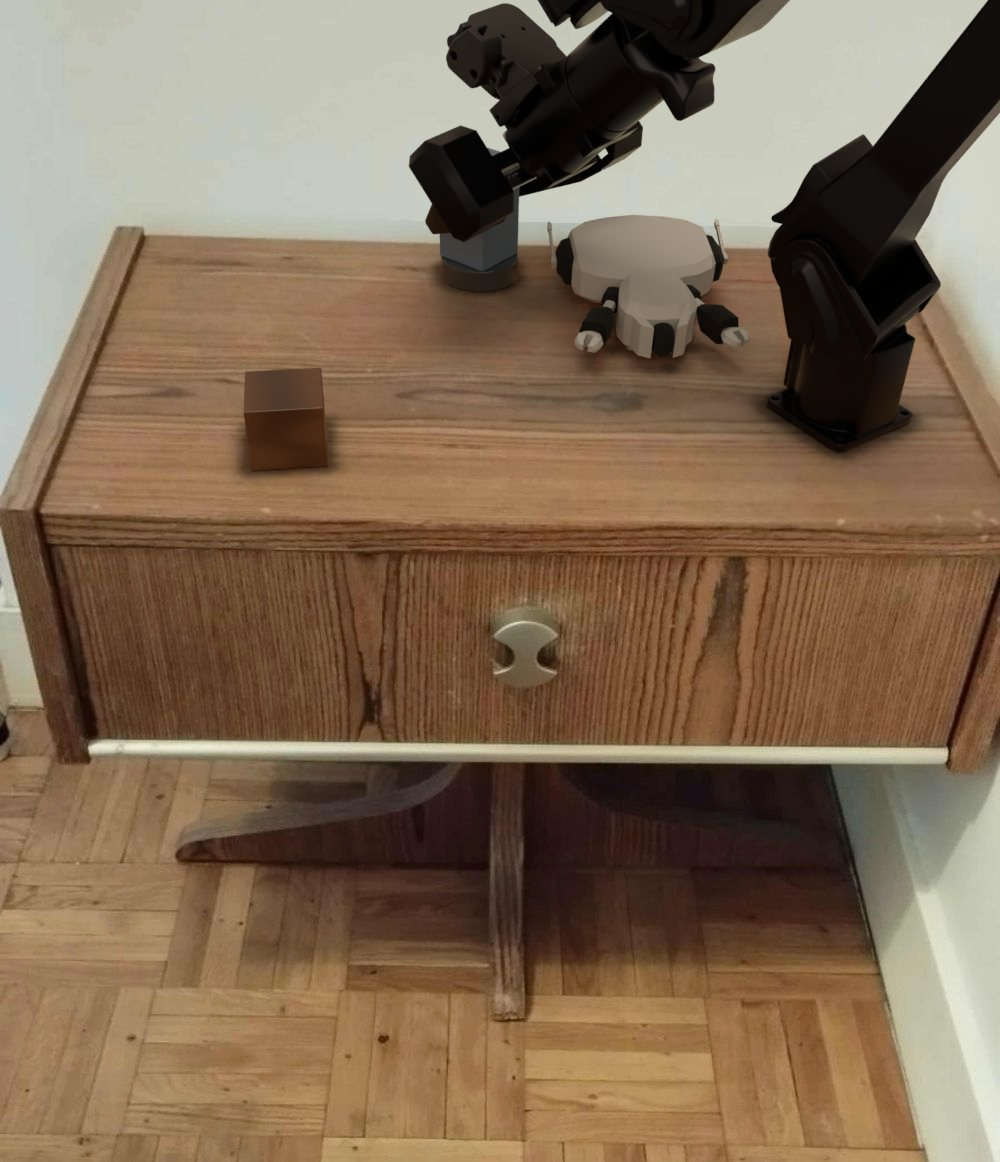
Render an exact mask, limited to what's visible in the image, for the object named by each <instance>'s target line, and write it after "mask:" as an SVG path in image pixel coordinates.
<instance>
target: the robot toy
mask: <svg viewBox="0 0 1000 1162" xmlns="http://www.w3.org/2000/svg"><path fill="white" fill-rule="evenodd" d="M552 225H553V224H552V222H550V221H548V222H547V226H546V230H547V233H548V240H549V248H550V269H555V270H556V274H557V275H558V276H559V278H560V279H561V281H562V282H563V283H564V285H565V286H568V287H571V288H572V290H573V293H574V295H576V296H578V297H581V298H582V299H585V300H586V301H589V302H591V303H596V304H600V306H596V307H590V308H589V311H588V312H587V314H586V316H585V317H584V319H583V320H582V323H581V325H580V328H579V333H578V334H577V335H576V337H575V339H574V346H575V348H576V349H577V350H580V351H584V349H585V347H586V348H587V351H586V352H588V353H595V354H596V353H597V352H598V351H600V350H601V349H602V348H604V347H605V346H606V344H607V342H608V341H609V339H610V337H611V336H612V334H613V330H614V328H615V334H616V337H617V338H618V340H619V341H620V342H621V343H622V344H623V346H624V347H626V350H628V351H632V352H634V353H635V354H636V355H637V356H639V357H643V358H647V359H651V357H652V354H653V355H654V356H656V357H662V358H665V357H668V356H671V354H672V359H673V358H677V357H679V356H682V355H684V354H685V350H686V347H687V345H688V344H689V343H691V342H692V340H693V336H694V330H695V324H696V320H697V323H698V327H699V331H700V332H701V333H702V334H703V335H705V336H706V337H707V338H708V339H709V340H710V341H711V342H712V343H714V345H723V346H724V347H726V348H729V349H731V350H735V349H740V348H741V346H743V347H745V346H748V345H749V343H750V341H751V336H750V334H749V333H748V331H747V330H746V329H745V328H743V327H740V324H739V323H740V322H739V317H738V316H737V315H736V314H735V313H733V312H732V311H731V310H730V309H728V308H727V307H726V306H725V305H724V304H718V303H717V304H714V303H705V302H703V301H702V296H704V295H705V294H707V293H709V291H710V290H711V287H712V284H713V283H714V282H717V281H719V280H720V278H721V275H722V272H723V269H724V265H728V261H729V256H728V252H725V246H724V241H723V237H722V233H721V227H720V225H721V224H720V220H719V219H718V218H714V222H713V227H714V230H715V231H716V236H717V241H716V239H715V238H714V237H713V236H712V235H710V234H706V231H705V229H704V226H701V225H699V224H697V223H695V222H691V221H689V220H687V219H683V218H677V217H670V216H660V215H644V214H627V215H618V216H617V215H616V216H607V217H601V218H597V219H596V218H595V219H591V220H587V221H584V222H582V223H580V224H578V225H577V226H576V227H573V228H572V229H570V232H569V233H568V235H567V237H566V238H563V239H561V240H560V241H559V243H558V246H557V247H556V250H555V247H554V240H553V226H552ZM717 242H718V243H717ZM615 315H616V317H615ZM696 318H697V319H696Z"/></svg>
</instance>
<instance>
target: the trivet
mask: <svg viewBox="0 0 1000 1162" xmlns="http://www.w3.org/2000/svg"><path fill="white" fill-rule="evenodd" d="M519 265H520V254H519V251H518V252H517V253H516V254H514V255H513V256H511V257H509V258H507V259H505V260H503V261H502V262H500V263H498V264H496V265H494V266H493V267H491V268H489V269H487V270H485V271H483V272H481V271H479V270H476V269H474V268H471V267H469V266H466V265H464V264H461V263H458V262H456V261H453V260H451V259H448V258H446V257H443V256H441V255H440V274H441V275H440V276H441V278H442V280H443V281H444V282H445V283H446V284H448V285H449V286H451V287H453V288H455V289H459V290H463V291H467V292H476V293H478V292H481V293H482V292H492V291H493V292H494V291H498V290H502V289H505V288H507V287H509V286H511V285H512V284H514V283H515V282H516V281H517V279H518V278H519V270H520V269H519V268H520V266H519Z"/></svg>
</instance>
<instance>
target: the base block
mask: <svg viewBox="0 0 1000 1162" xmlns="http://www.w3.org/2000/svg"><path fill="white" fill-rule="evenodd" d="M323 384H324V383H323V372H322V367H306V368H286V369H271V370H270V369H269V370H267V369H266V370H251V371H247V370H246V371H245V372H244V388H243V390H244V391H243V392H244V393H243V419H244V427H245V428H244V429H245V434H246V443H247V450H248V456H249V464H250V470H251V472H255V471H256V472H257V471H258V472H259V471H272V470H287V469H288V470H289V469H304V468H319V467H321V468H322V467H328V466H329V457H328V453H329V451H328V437H327V436H328V435H327V434H328V433H327V420H326V419H327V418H326V417H327V416H326V407H325V396H324V395H325V394H324V385H323Z"/></svg>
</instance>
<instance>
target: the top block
mask: <svg viewBox="0 0 1000 1162" xmlns="http://www.w3.org/2000/svg"><path fill="white" fill-rule="evenodd" d="M487 149H488V150H489V152H490V153H491V155H492V156H493V155H495V154H498V153H500V152H501V151H500V150H496V149H493V148H490V147H487ZM519 168H520V166H519V167H517V168H515V169H513V170H511V171H508V172H506V173H504V174H503V175H507V174H508V173H511V172H513V171H515V170H517V169H519ZM513 191H514V212H512V213H511V214H510V215H509V216H508V217H506V218H505V221H504V222H502V223H500V224H498V225H496V226H494V227H492V228H490V229H489V230H487V231H485V232H483V233H481V234H479V235H477V236H475V237H473V238H471V239H469V240H467V241H465V242H462V241H460V240H457V239H455V238H453V237H452V235H451V233H445V234H439V256H440V257H441V256H443V257H446V258H448V259H451V260H453V261H456V262H458V263H461V264H464V265H466V266H469V267H471V268H474V269H476V270H479V271H481V272H483V271H485V270H487V269H489V268H491V267H493V266H494V265H496V264H498V263H500V262H502V261H503V260H505V259H507V258H509V257H511V256H513V255H514V254H516V253H517V252H518V253H519V251H518V250H519V219H520V218H519V217H520V213H519V212H520V197H519V187H518V188H516V189H514V190H513Z"/></svg>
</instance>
